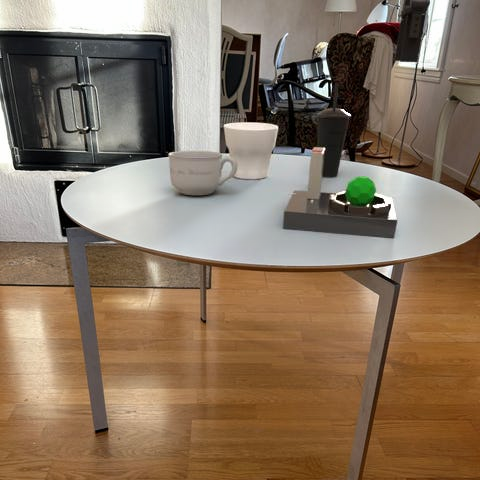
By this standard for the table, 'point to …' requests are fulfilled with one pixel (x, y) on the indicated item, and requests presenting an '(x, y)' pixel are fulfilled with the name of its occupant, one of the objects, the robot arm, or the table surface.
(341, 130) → the drinking cup
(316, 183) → the upright white panel
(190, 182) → the teacup
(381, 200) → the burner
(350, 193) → the polyhedron
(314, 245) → the table surface
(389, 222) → the cooktop
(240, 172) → the cup
